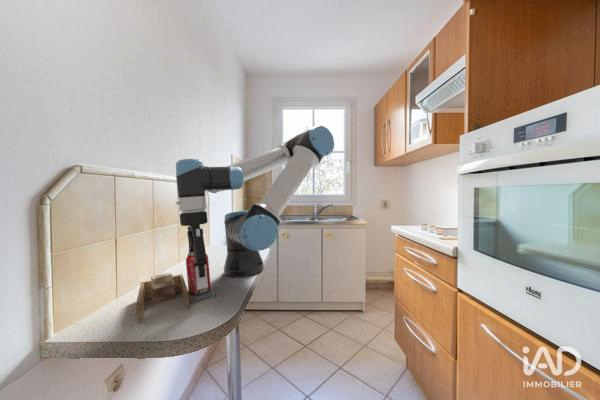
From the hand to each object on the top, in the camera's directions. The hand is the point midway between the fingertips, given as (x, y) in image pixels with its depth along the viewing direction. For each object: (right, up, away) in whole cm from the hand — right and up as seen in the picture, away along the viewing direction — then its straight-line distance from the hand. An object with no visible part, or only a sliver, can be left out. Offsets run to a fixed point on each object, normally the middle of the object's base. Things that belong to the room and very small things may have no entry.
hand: (199, 281), depth 73 cm
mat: (0, -4, 0) cm, 4 cm away
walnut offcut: (-10, -5, 0) cm, 11 cm away
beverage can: (0, -4, +1) cm, 4 cm away
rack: (-8, -5, -5) cm, 10 cm away
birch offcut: (-11, -1, -1) cm, 11 cm away
